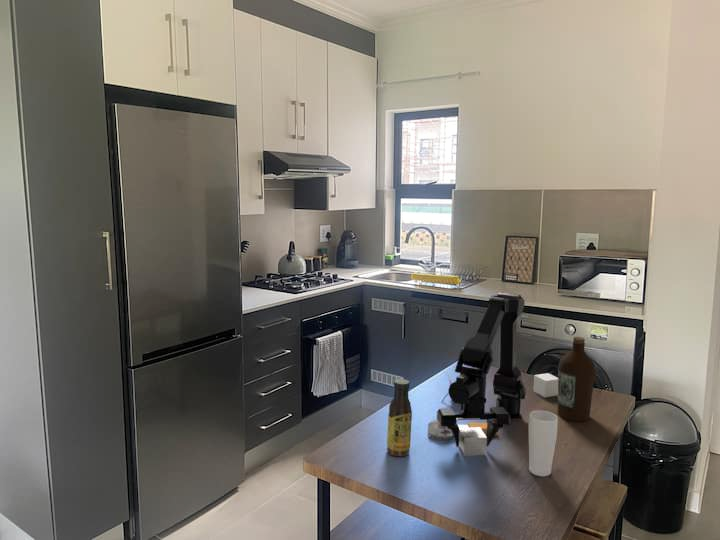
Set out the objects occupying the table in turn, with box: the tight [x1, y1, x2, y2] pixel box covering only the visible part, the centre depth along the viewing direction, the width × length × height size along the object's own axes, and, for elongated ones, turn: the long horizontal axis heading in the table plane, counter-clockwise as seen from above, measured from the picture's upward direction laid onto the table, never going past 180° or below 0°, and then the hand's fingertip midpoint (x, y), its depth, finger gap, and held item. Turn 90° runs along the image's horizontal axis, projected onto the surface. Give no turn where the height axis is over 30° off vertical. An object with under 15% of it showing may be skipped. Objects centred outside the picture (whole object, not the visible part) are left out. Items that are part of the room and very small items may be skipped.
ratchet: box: [427, 417, 499, 441], centre depth 154 cm, size 20×8×5 cm, turn 94°
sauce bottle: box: [386, 378, 413, 457], centre depth 142 cm, size 6×6×20 cm
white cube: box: [532, 372, 558, 398], centre depth 184 cm, size 6×6×6 cm
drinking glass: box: [528, 409, 559, 478], centre depth 133 cm, size 7×7×15 cm
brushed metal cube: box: [458, 427, 488, 457], centre depth 144 cm, size 6×6×5 cm
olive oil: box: [556, 336, 596, 422], centre depth 165 cm, size 11×11×25 cm
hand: (472, 446), depth 145 cm, fingers open, 8 cm apart
